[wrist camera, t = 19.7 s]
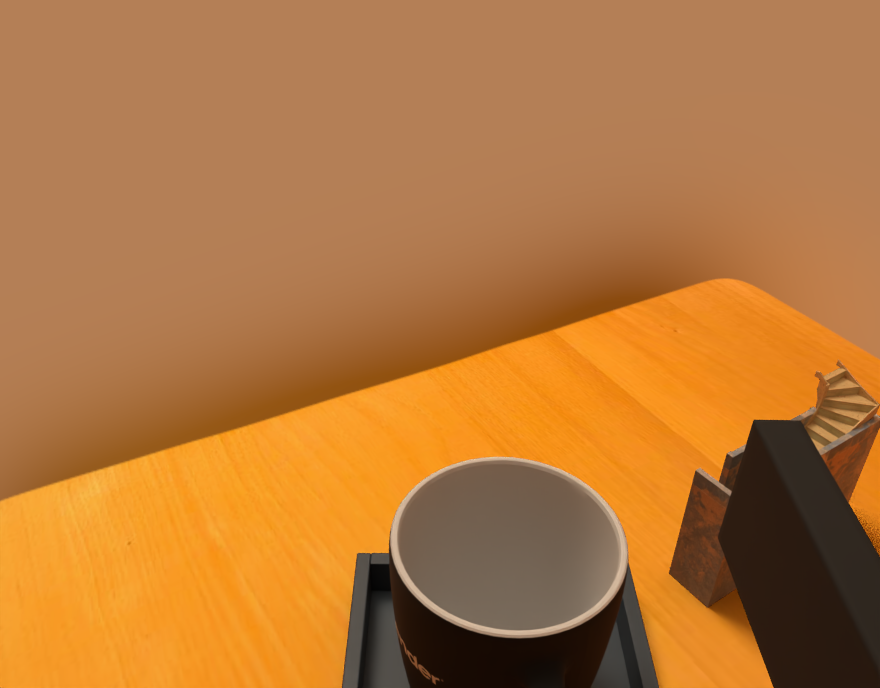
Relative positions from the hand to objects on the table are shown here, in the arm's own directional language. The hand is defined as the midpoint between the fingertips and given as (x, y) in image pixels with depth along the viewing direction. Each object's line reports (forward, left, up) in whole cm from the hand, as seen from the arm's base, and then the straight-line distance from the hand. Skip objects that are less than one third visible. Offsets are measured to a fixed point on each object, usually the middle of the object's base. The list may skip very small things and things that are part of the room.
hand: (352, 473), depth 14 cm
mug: (+5, +10, -24) cm, 26 cm away
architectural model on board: (+19, +21, -25) cm, 37 cm away
